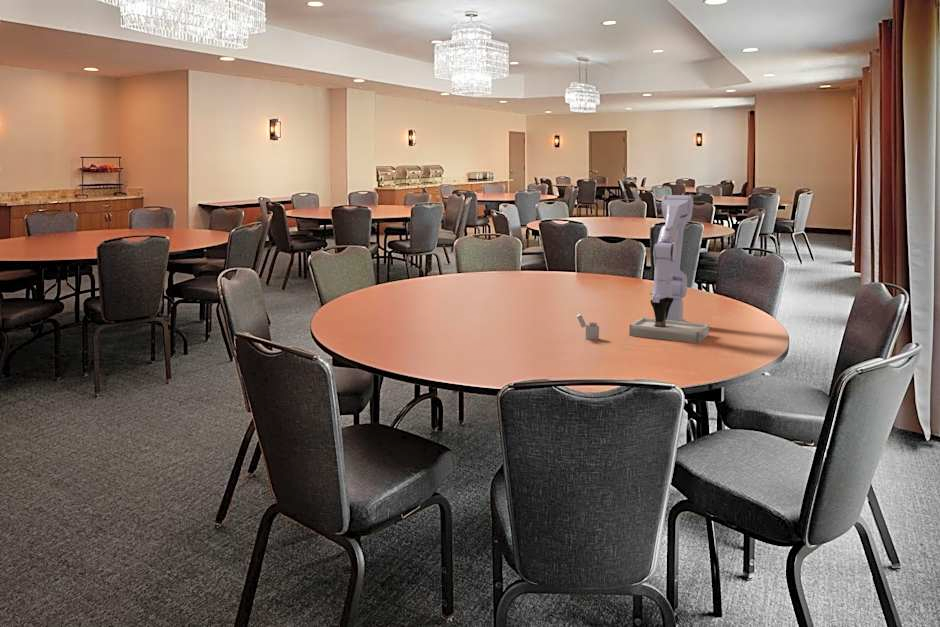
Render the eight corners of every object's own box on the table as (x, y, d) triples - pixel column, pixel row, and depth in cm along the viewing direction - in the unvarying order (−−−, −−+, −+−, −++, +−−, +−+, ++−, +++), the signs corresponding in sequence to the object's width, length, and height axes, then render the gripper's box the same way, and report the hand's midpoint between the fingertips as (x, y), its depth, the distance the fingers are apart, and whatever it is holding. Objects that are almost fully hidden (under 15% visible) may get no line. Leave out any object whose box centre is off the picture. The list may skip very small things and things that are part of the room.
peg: (657, 327, 237) (657, 303, 236) (666, 328, 236) (667, 304, 234) (653, 329, 235) (654, 304, 233) (663, 330, 233) (663, 305, 232)
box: (641, 327, 244) (642, 317, 243) (708, 335, 233) (709, 324, 232) (629, 335, 233) (629, 324, 233) (698, 343, 222) (699, 332, 221)
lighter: (598, 338, 229) (599, 313, 228) (598, 339, 228) (599, 314, 226) (576, 337, 231) (576, 313, 229) (576, 339, 229) (576, 314, 227)
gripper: (657, 275, 240) (655, 315, 243) (643, 281, 228) (642, 323, 231) (678, 277, 236) (676, 317, 239) (666, 283, 224) (664, 326, 227)
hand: (661, 320), depth 235 cm, fingers closed on peg, 3 cm apart
